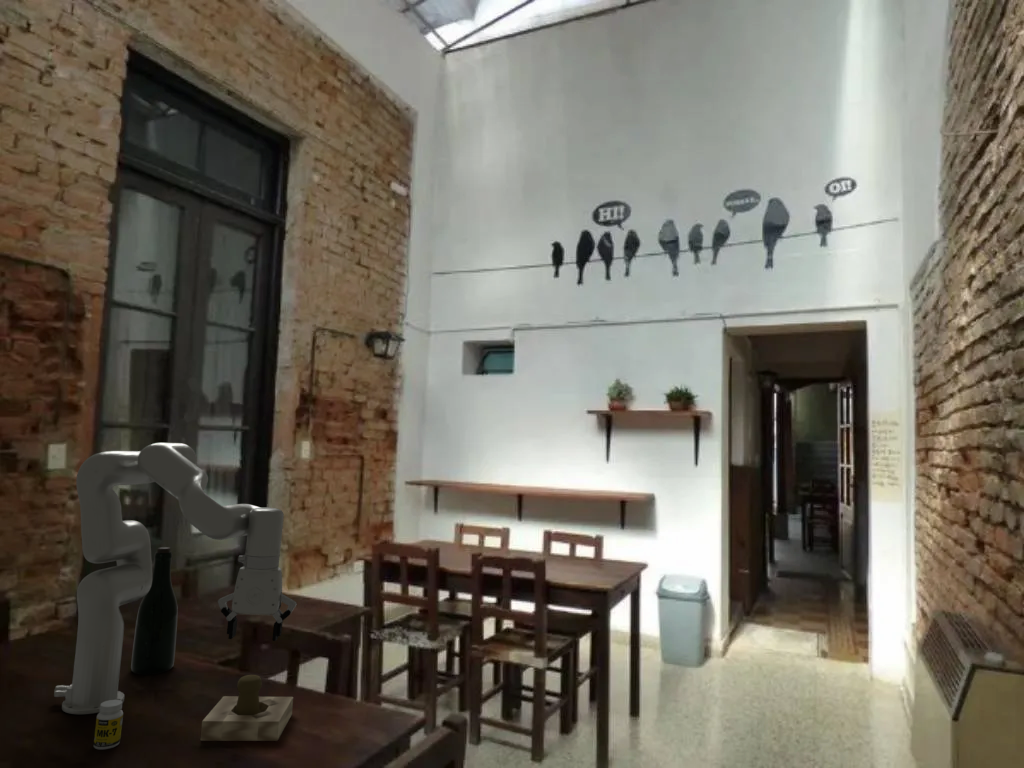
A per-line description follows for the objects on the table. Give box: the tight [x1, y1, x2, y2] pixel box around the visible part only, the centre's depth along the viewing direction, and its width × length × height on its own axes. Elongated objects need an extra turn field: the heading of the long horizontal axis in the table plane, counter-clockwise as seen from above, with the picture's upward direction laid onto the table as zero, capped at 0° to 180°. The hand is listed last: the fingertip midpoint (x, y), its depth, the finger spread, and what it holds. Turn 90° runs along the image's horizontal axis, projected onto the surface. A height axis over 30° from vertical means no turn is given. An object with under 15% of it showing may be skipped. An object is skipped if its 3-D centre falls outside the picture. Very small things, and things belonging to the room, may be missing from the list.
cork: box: [235, 674, 263, 715], centre depth 149 cm, size 6×6×11 cm
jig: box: [199, 695, 294, 742], centre depth 148 cm, size 16×14×4 cm
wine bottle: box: [130, 546, 179, 676], centre depth 183 cm, size 10×10×33 cm
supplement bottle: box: [93, 700, 124, 751], centre depth 137 cm, size 5×5×8 cm
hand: (253, 638), depth 150 cm, fingers open, 9 cm apart
